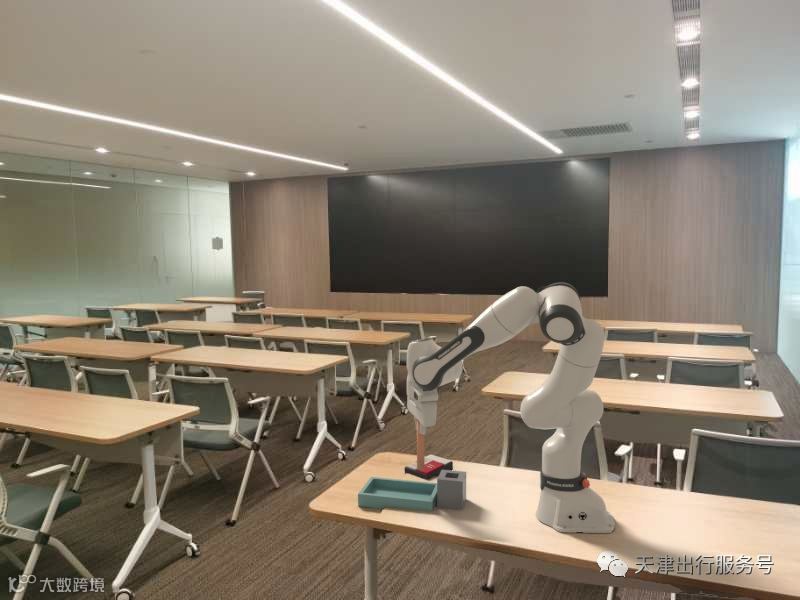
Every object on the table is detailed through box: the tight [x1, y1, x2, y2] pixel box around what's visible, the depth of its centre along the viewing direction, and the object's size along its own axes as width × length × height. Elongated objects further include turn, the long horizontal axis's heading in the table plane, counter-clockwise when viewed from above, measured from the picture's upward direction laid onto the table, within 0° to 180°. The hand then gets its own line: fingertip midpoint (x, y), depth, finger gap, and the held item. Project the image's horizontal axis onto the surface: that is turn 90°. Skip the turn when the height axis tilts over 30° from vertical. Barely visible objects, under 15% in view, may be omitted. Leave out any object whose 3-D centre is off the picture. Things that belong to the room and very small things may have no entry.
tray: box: [357, 476, 437, 512], centre depth 179 cm, size 24×14×4 cm, turn 76°
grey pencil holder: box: [436, 470, 467, 511], centre depth 174 cm, size 8×8×10 cm
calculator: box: [404, 454, 454, 480], centre depth 202 cm, size 11×4×15 cm
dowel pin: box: [416, 420, 425, 470], centre depth 176 cm, size 2×2×16 cm
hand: (420, 432), depth 175 cm, fingers closed on dowel pin, 2 cm apart
